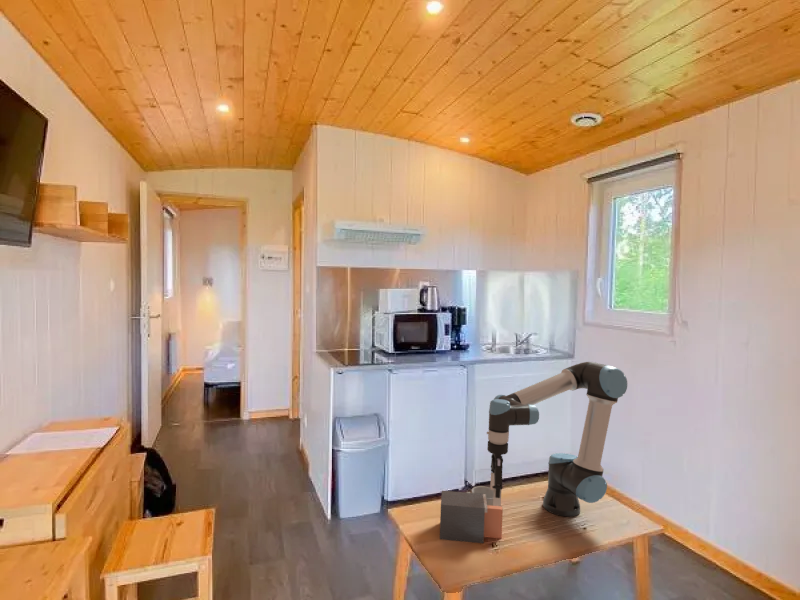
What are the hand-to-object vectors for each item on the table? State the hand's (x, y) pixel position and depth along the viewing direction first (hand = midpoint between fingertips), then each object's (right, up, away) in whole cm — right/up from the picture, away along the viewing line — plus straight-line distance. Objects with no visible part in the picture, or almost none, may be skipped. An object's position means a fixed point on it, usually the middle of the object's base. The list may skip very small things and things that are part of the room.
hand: (495, 497), depth 175 cm
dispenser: (-13, -14, +2) cm, 19 cm away
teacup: (-2, -14, +21) cm, 25 cm away
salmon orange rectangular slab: (-4, -15, +1) cm, 15 cm away
